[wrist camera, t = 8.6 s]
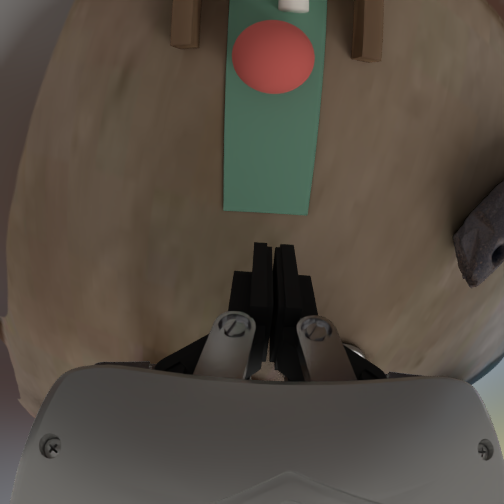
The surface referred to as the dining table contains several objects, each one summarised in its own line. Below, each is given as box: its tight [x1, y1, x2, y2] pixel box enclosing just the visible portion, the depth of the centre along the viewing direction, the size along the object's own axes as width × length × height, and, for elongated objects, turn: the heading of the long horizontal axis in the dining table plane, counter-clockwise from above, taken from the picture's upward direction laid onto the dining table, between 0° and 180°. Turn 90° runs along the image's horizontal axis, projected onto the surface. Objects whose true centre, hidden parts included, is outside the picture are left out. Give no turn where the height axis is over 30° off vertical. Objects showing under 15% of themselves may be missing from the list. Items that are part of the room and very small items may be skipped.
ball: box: [232, 20, 315, 94], centre depth 18 cm, size 6×6×6 cm
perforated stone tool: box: [453, 181, 504, 288], centre depth 23 cm, size 15×5×7 cm, turn 143°
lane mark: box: [224, 0, 327, 215], centre depth 20 cm, size 30×8×1 cm, turn 177°
